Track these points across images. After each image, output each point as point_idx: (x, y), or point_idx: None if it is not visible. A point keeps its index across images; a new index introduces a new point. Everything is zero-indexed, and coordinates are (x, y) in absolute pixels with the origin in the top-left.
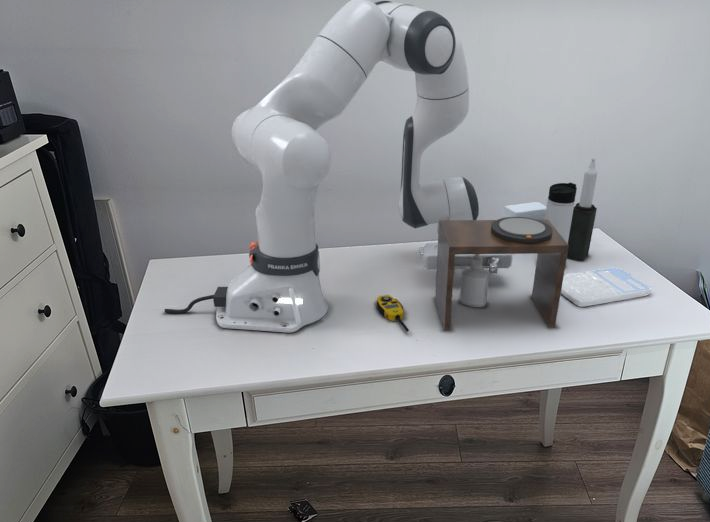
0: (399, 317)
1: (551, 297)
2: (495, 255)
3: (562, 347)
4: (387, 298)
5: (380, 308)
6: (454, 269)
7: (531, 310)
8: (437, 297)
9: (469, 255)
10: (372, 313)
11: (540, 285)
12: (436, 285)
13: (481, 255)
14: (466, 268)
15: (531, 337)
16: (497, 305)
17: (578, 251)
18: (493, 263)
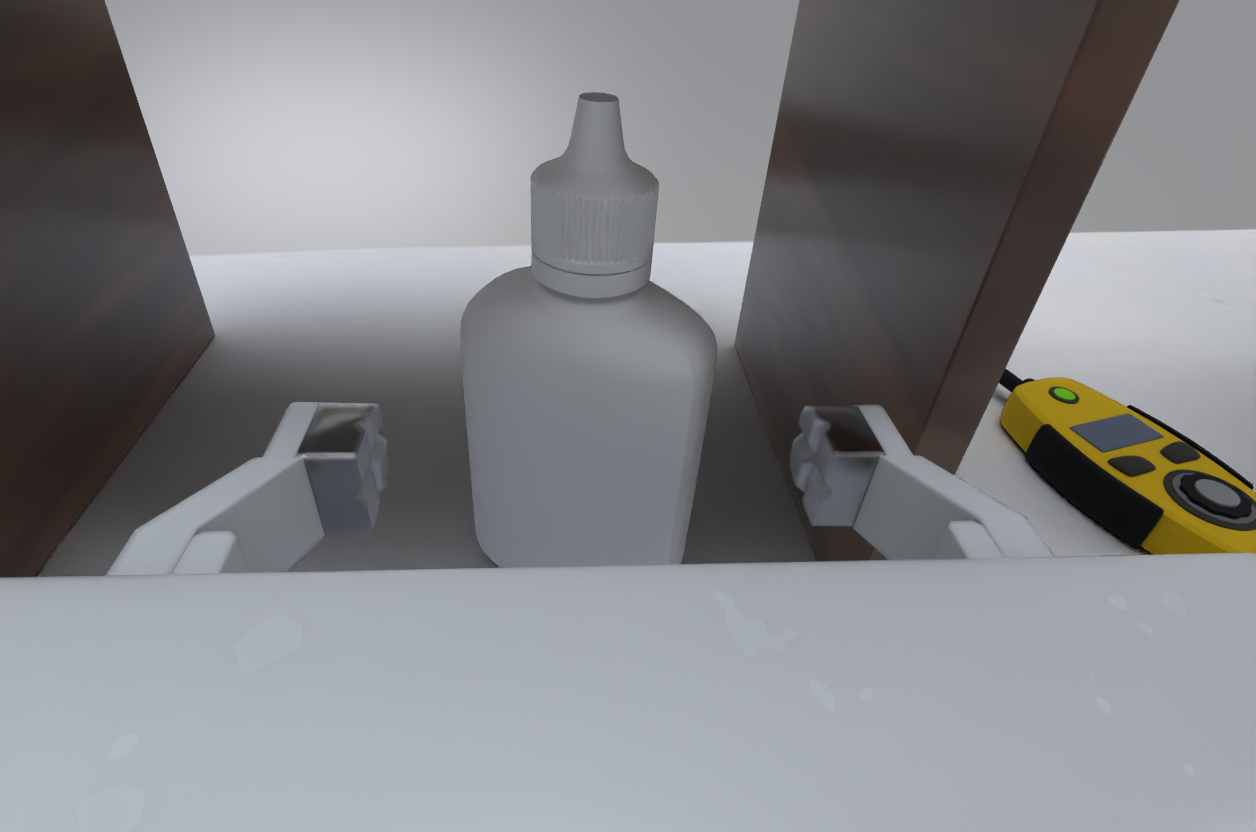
0: (1014, 386)
1: (141, 194)
2: (128, 575)
3: (269, 253)
4: (1207, 489)
5: (1169, 431)
6: (800, 417)
7: (178, 466)
8: None
9: (615, 569)
10: None
11: (9, 347)
12: None
13: (398, 573)
14: (683, 309)
15: (361, 296)
16: (395, 527)
17: None
18: (300, 452)
